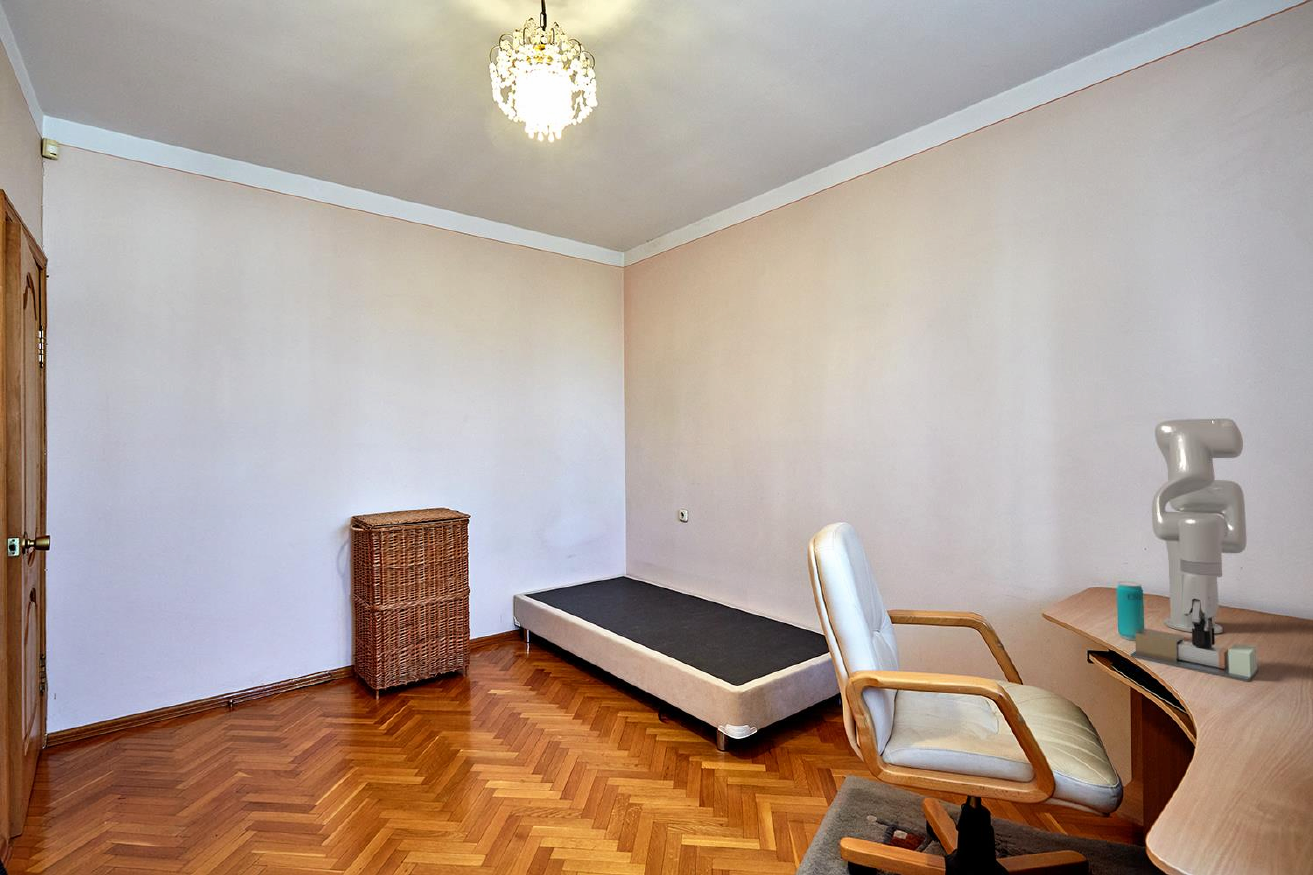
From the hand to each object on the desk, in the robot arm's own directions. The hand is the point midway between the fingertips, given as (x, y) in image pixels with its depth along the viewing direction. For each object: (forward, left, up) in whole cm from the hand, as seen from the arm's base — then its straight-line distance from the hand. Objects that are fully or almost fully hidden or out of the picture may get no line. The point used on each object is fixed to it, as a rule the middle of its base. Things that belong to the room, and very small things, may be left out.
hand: (1203, 644), depth 146 cm
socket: (0, +7, -5) cm, 9 cm away
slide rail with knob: (0, -2, -5) cm, 6 cm away
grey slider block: (0, -3, -5) cm, 6 cm away
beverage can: (-12, -17, -5) cm, 22 cm away
